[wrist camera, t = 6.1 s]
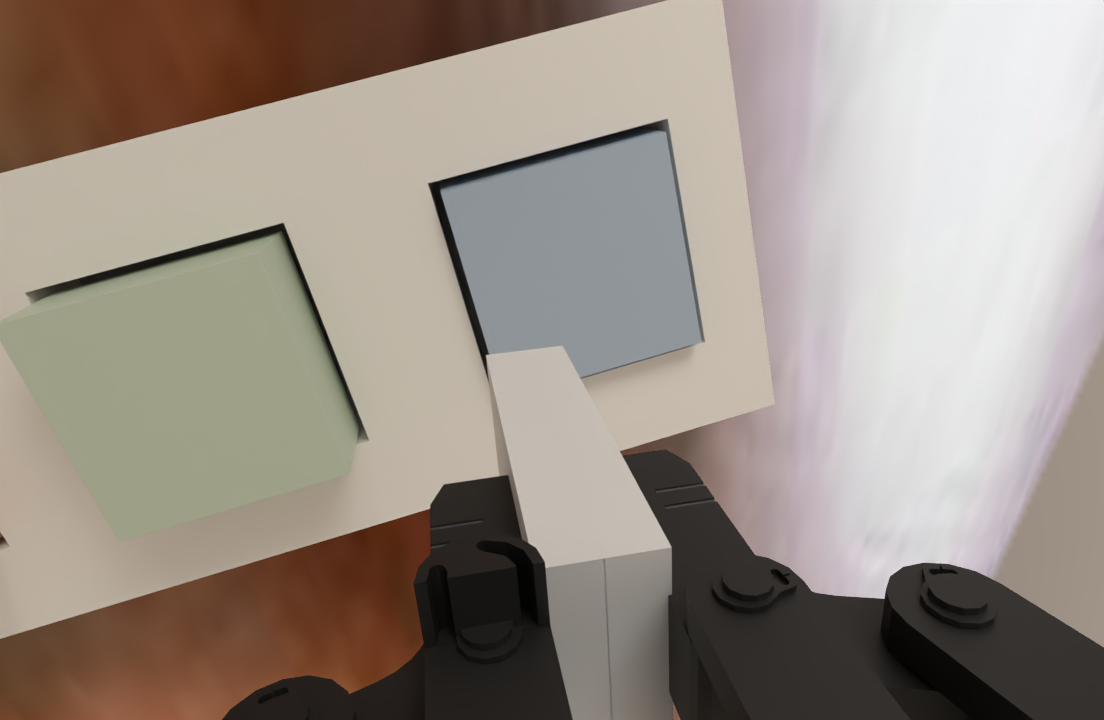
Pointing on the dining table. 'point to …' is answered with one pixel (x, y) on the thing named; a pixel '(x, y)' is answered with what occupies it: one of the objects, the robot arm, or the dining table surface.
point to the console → (374, 281)
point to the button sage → (188, 385)
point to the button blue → (578, 251)
